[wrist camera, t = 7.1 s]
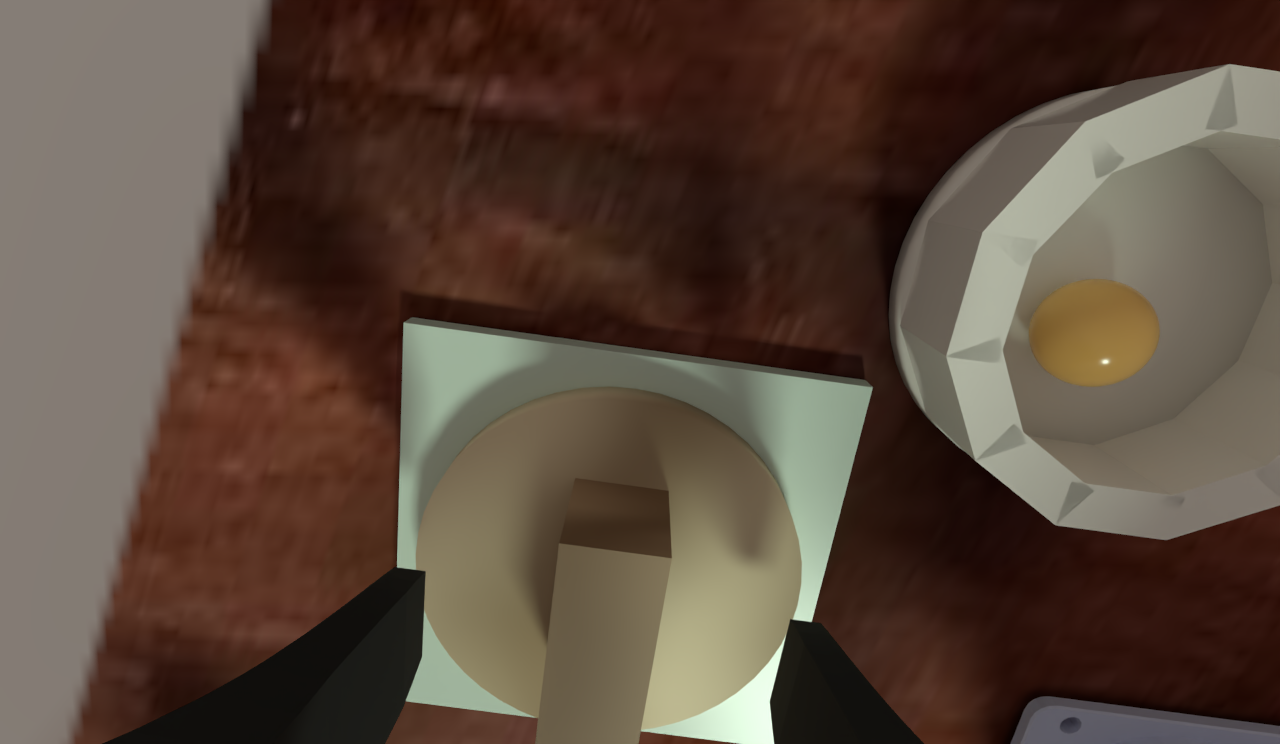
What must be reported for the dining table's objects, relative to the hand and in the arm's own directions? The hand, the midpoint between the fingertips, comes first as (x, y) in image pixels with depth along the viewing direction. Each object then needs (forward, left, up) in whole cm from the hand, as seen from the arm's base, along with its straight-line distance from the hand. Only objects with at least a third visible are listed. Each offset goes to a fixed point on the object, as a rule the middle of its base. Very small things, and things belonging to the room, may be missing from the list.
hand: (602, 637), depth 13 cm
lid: (0, 0, -3) cm, 3 cm away
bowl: (-9, -8, -3) cm, 12 cm away
